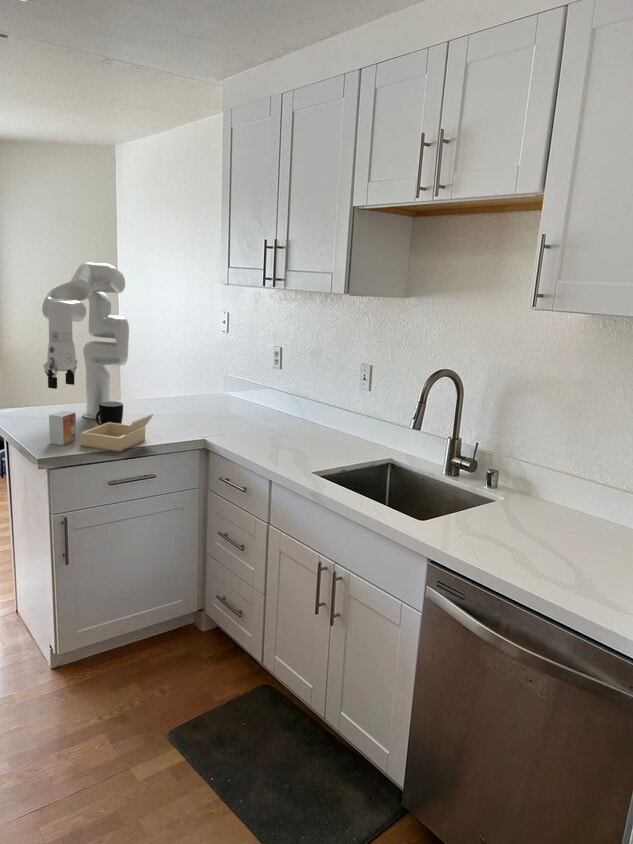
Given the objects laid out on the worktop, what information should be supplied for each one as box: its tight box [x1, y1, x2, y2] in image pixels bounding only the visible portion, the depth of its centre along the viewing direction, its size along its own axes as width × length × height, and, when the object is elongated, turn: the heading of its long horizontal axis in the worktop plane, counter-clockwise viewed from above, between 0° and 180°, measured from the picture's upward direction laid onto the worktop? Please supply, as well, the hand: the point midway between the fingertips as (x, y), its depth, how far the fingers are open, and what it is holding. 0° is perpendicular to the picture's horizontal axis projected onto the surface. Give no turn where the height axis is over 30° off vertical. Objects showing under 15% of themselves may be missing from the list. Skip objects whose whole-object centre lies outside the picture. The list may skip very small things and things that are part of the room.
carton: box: [79, 422, 146, 453], centre depth 225 cm, size 18×15×5 cm
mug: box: [95, 400, 124, 426], centre depth 242 cm, size 12×9×10 cm
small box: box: [48, 410, 77, 446], centre depth 221 cm, size 8×6×10 cm
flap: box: [124, 413, 154, 435], centre depth 222 cm, size 14×6×1 cm
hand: (61, 386), depth 217 cm, fingers open, 9 cm apart
